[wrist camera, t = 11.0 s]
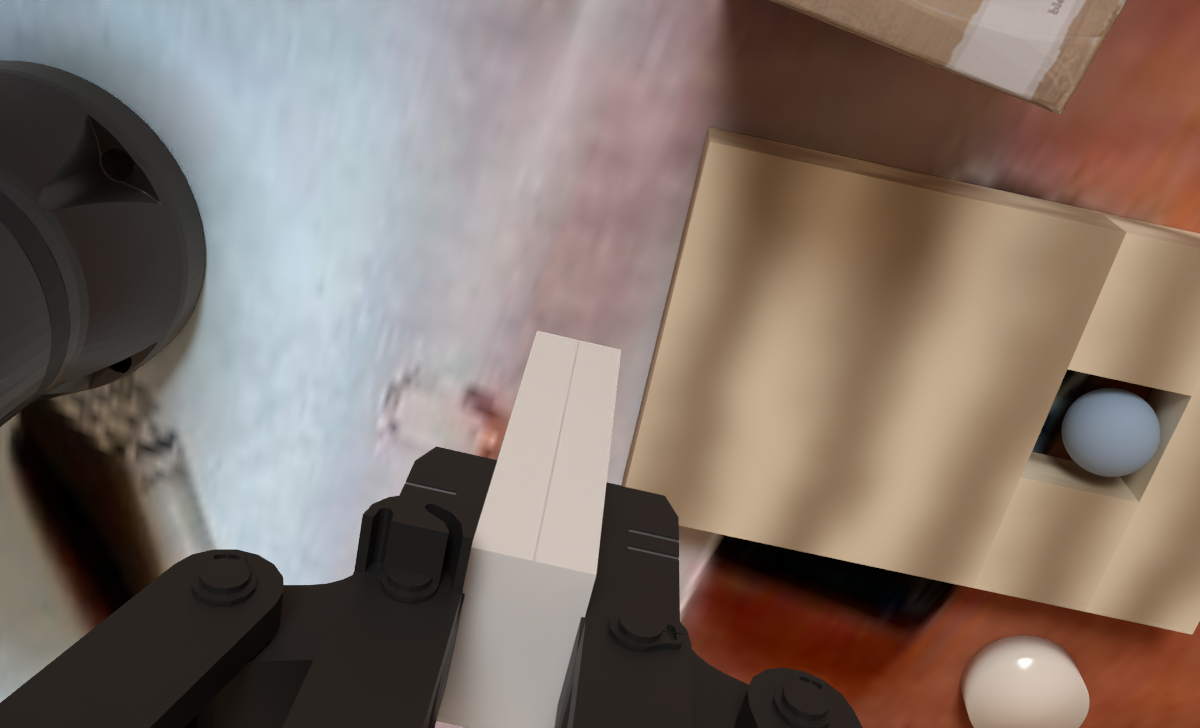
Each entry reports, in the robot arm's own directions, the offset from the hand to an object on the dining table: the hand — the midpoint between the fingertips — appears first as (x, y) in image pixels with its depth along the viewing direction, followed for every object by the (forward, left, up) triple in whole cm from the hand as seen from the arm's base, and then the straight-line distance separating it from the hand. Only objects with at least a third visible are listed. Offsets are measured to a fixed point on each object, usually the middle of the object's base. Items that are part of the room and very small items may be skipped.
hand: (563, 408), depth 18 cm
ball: (+24, -9, -27) cm, 37 cm away
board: (+17, -9, -29) cm, 35 cm away
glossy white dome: (+26, -25, -29) cm, 46 cm away
